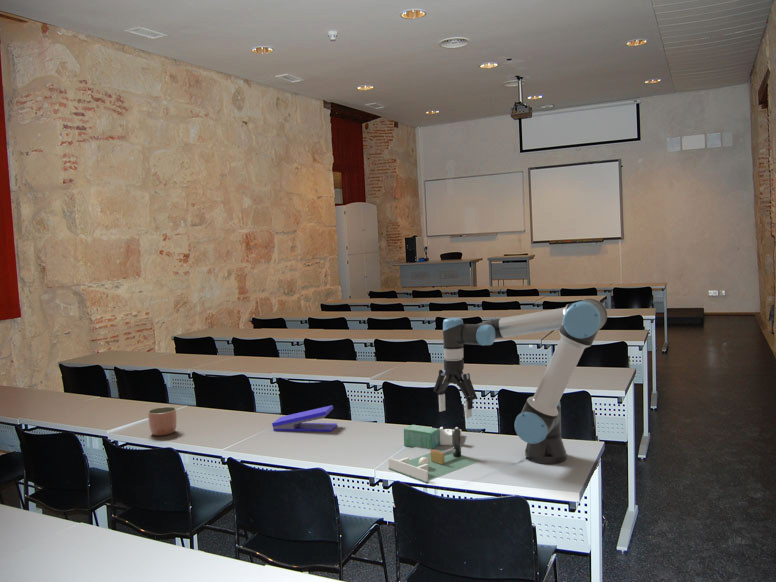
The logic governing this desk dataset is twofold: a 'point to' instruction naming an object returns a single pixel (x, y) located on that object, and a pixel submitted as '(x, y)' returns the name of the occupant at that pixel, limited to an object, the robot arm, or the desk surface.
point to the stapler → (296, 421)
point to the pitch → (433, 469)
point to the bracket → (446, 436)
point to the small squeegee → (456, 449)
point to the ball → (423, 461)
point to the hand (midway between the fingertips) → (455, 414)
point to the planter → (162, 420)
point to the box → (421, 436)
